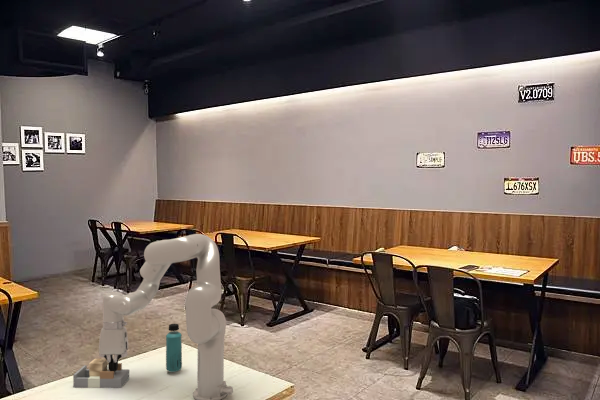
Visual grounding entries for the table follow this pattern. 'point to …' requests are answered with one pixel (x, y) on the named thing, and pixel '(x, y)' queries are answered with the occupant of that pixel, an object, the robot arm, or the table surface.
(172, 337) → the beverage bottle
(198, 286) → the robot arm
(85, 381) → the grey open boxy piece
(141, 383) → the table surface
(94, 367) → the maple block
